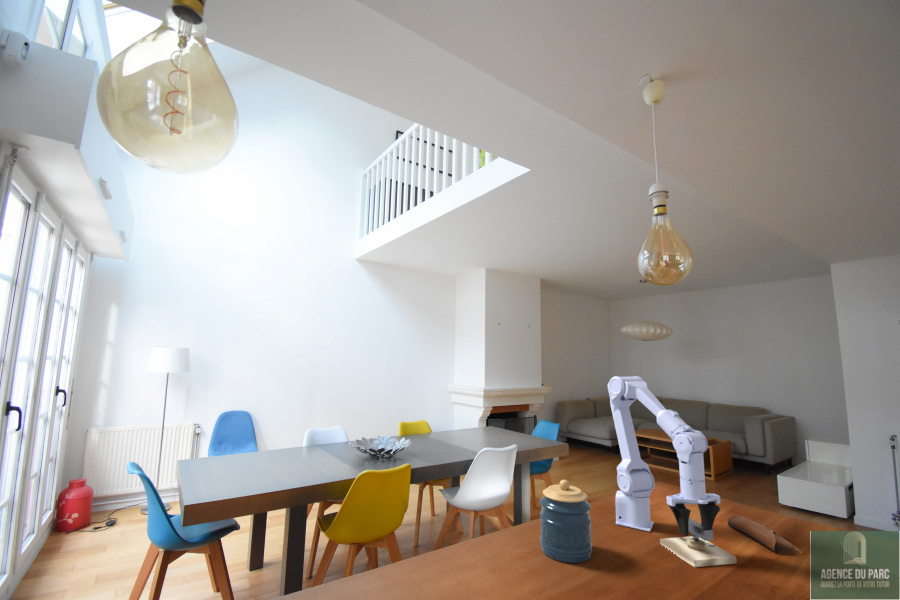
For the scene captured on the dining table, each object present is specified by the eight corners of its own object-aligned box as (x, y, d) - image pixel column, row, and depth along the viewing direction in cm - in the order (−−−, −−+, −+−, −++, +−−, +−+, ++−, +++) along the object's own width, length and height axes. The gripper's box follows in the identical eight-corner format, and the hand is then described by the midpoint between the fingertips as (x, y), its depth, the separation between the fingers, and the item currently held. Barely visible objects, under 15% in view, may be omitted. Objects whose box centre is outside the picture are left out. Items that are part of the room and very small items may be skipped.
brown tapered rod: (807, 554, 107) (792, 530, 107) (786, 569, 106) (771, 545, 107) (754, 525, 124) (741, 505, 125) (735, 538, 124) (723, 518, 124)
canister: (601, 551, 106) (598, 480, 109) (578, 570, 97) (576, 491, 99) (555, 536, 115) (554, 470, 117) (530, 551, 106) (529, 479, 108)
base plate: (694, 567, 99) (693, 553, 99) (660, 544, 111) (659, 532, 111) (736, 563, 101) (735, 550, 102) (698, 541, 113) (698, 530, 113)
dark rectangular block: (705, 548, 102) (704, 530, 102) (678, 532, 111) (677, 516, 111) (714, 547, 102) (713, 529, 103) (686, 532, 111) (685, 515, 112)
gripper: (679, 484, 103) (682, 542, 101) (728, 481, 106) (732, 538, 104) (659, 476, 110) (662, 530, 108) (706, 474, 113) (710, 526, 111)
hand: (695, 533), depth 107 cm, fingers open, 6 cm apart
